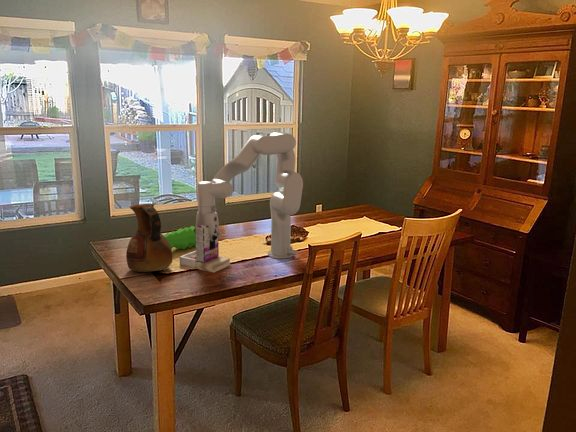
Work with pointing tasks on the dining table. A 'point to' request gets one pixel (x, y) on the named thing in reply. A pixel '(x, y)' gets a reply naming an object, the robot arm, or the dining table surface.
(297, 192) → the robot arm
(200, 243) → the candy bar box
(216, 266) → the board
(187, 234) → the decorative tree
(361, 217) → the dining table surface
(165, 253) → the ceramic pitcher
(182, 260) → the tray
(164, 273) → the dining table surface
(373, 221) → the dining table surface
